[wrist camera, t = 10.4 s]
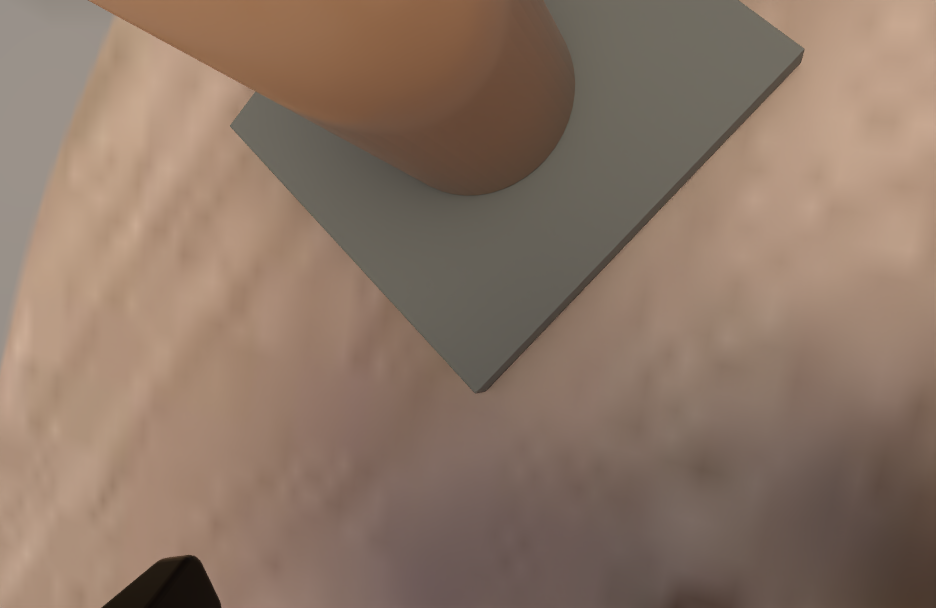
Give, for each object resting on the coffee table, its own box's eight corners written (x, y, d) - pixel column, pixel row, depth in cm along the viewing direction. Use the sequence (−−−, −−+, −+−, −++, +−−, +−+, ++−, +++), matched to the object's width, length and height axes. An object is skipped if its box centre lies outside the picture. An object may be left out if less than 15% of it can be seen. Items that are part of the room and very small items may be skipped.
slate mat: (801, 62, 16) (804, 49, 15) (485, 390, 18) (475, 393, 18) (482, -175, 19) (472, -195, 18) (246, 133, 21) (229, 125, 21)
